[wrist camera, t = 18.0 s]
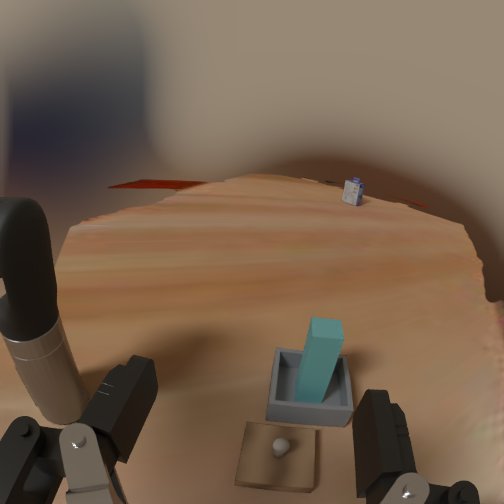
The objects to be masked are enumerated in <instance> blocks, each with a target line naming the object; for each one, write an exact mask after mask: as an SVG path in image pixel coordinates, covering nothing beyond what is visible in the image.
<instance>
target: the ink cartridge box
mask: <svg viewBox="0 0 504 504" xmlns="http://www.w3.org/2000/svg"><path fill="white" fill-rule="evenodd" d="M355 179H358V181H357V180H355ZM359 180H360V179H359V178H356V177H355V178H354V180H353V181H351V180H347V181H346V183H345V188H344V194H343V199H342V201H344V202H347V203H349V204H352V205H355V206H360V205H361V201H362V196H363V190H364V184H361V183H358V182H359Z"/></svg>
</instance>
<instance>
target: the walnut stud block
mask: <svg viewBox="0 0 504 504" xmlns="http://www.w3.org/2000/svg"><path fill="white" fill-rule="evenodd" d="M314 466H315V429H302V428H291V427H282V426H273V425H266V424H258V423H251V422H247V423H246V428H245V433H244V438H243V443H242V448H241V453H240V458H239V463H238V468H237V473H236V478H235V484H234V485H237V486H243V487H250V488H258V489H266V490H275V491H286V492H301V493H310V492H311V491H312V490H313V488H314Z"/></svg>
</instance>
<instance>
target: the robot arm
mask: <svg viewBox="0 0 504 504" xmlns="http://www.w3.org/2000/svg"><path fill="white" fill-rule="evenodd" d="M0 278H3V281H4V285H5V289H6V294H5V295H4V296H3V297H2V298H1V299H0V332H1V334H2V336H3V339H4V341H5V343H6V346H7V348H8V350H9V352H10V354H11V356H12V359H13V361H14V363H15V368H16V370H17V372H18V374H19V376H20V378H21V380H22V382H23V383H24V385H25V387H26V389H27V391H28V393H29V394H30V396H31V398H32V400H33V401H34V403H35V405H36V406H38V408H39V409H40V411H41V413H42V414H43V416H44V417H45V418H46V419H47V420H49V421H51V422H52V423H56V424H70V423H73V422H75V421H77V420H78V422H77V423H74V424H70V425H68V426H67V427H65V428H64V429H56V428H49V427H42V426H39V424H38V423H37V421H36V420H35V419H33V418H31V417H28V416H21V417H18V418H16V419H15V420H14V421H13V422H12V423H11V424H10V426H9V428H8V429H7V431H6V432H5V434H4V436H3V437H2V439H1V441H0V504H52V503H53V500H54V498H55V495H56V493H57V491H58V488H59V486H60V484H61V482H62V479H63V477H66V479H67V483H68V488H69V490H68V491H67V492H66V501H67V504H128V502H127V499H126V496H125V494H124V491H123V488H122V486H121V483H120V480H119V477H118V474H117V471H116V469H115V464H116V462H117V461H120V462H123V463H125V464H126V463H127V461H128V459H129V456H130V454H131V452H132V450H133V447H134V445H135V443H136V441H137V438H138V436H139V434H140V432H141V430H142V427H143V425H144V423H145V421H146V419H147V416H148V414H149V412H150V410H151V408H152V405H153V403H154V401H155V399H156V396H157V391H158V383H157V378H156V372H155V367H154V362H153V360H152V359H148V358H144V357H141V356H137V355H133V356H132V357H131V358H130V360H129V361H128V363H127V365H126V366H123V365H120V364H119V365H118V366H116V367H115V368H114V369H112V370H111V371H110V372H109V373H108V374H107V376H106V377H105V379H104V380H103V383H102V384H101V385H100V387H99V388H98V391H97V392H96V393H95V395H94V396H93V398H92V400H91V401H90V403H89V397H88V394H87V392H86V389H85V387H84V384H83V382H82V379H81V376H80V374H79V371H78V369H77V366H76V363H75V361H74V358H73V355H72V352H71V349H70V346H69V343H68V340H67V337H66V334H65V331H64V328H63V325H62V321H61V318H60V314H59V311H58V307H57V283H56V277H55V271H54V264H53V258H52V249H51V241H50V234H49V228H48V223H47V220H46V216H45V214H44V212H43V210H42V208H41V206H40V205H39V204H38V203H37V202H36V201H35V200H33V199H30V198H24V197H0ZM352 429H353V441H354V455H355V470H356V490H357V498H366V504H480V500H479V494H478V490H477V488H476V487H475V485H474V484H472V483H471V482H469V481H459V482H457V483H455V484H454V485H452V486H451V487H447V486H440V485H434V484H430V483H428V482H427V480H426V479H425V478H424V477H423V476H421V475H420V474H418V473H417V471H416V467H415V462H414V456H413V451H412V446H411V441H410V437H409V432H408V427H407V423H406V419H405V414H404V413H403V411H402V410H401V408H400V407H399V405H398V404H397V403H390V399H389V394H388V392H387V390H371V389H368V390H366V392H365V394H364V396H363V398H362V399H361V401H360V403H359V405H358V407H357V409H356V411H355V413H354V416H353V422H352Z"/></svg>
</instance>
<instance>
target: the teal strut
mask: <svg viewBox="0 0 504 504" xmlns="http://www.w3.org/2000/svg"><path fill="white" fill-rule="evenodd" d="M343 341H344V335H343V329H342V324H341V320H334V319H325V318H316V317H311V321H310V326H309V330H308V334H307V338H306V342H305V346H304V350H303V354H302V358H301V362H300V366H299V370H298V374H297V378H296V381H295V401H299V402H311V403H322V400H323V398H324V395H325V392H326V390H327V387H328V384H329V382H330V379H331V376H332V373H333V371H334V368H335V365H336V362H337V359H338V356H339V353H340V350H341V347H342V344H343Z"/></svg>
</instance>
